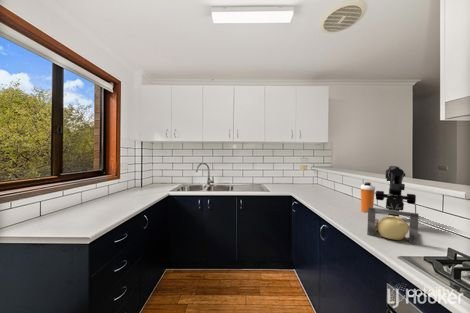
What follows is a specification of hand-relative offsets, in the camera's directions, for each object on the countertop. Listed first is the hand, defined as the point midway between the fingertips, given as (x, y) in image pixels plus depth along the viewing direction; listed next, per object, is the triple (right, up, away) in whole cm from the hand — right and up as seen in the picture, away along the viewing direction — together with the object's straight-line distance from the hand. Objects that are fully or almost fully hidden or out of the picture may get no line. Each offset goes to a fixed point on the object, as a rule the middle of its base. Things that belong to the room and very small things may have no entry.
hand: (394, 209), depth 134 cm
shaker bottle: (+5, -9, +37) cm, 39 cm away
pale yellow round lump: (-11, -10, -16) cm, 22 cm away
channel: (-7, -10, -9) cm, 15 cm away
